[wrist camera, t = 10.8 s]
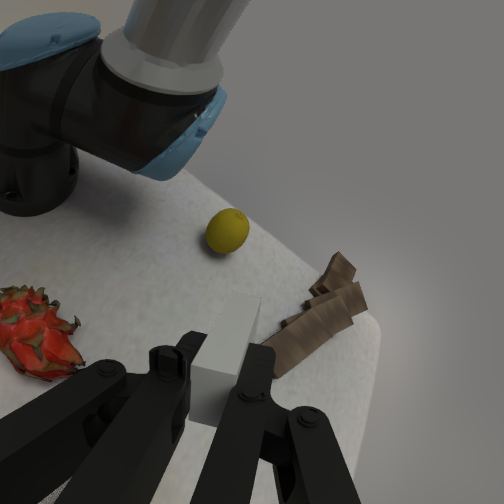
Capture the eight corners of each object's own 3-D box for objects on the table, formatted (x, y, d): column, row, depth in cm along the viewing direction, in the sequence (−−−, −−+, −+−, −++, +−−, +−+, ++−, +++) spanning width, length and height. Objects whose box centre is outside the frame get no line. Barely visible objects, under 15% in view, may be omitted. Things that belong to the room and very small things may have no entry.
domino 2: (257, 347, 39) (313, 307, 44) (253, 348, 41) (308, 309, 45) (278, 378, 38) (332, 335, 43) (274, 378, 40) (327, 337, 44)
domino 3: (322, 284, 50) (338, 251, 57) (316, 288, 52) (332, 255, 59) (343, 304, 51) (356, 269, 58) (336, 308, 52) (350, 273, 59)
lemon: (204, 225, 48) (227, 191, 42) (235, 242, 49) (262, 211, 44) (192, 251, 44) (216, 217, 38) (226, 269, 46) (254, 239, 40)
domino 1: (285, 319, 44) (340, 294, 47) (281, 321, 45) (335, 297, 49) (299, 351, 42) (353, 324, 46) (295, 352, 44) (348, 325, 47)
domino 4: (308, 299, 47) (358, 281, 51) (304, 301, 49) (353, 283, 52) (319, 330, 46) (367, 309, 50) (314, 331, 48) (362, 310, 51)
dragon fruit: (3, 305, 28) (78, 373, 31) (-38, 340, 19) (52, 421, 22) (29, 253, 26) (113, 329, 29) (-20, 281, 18) (85, 379, 21)
